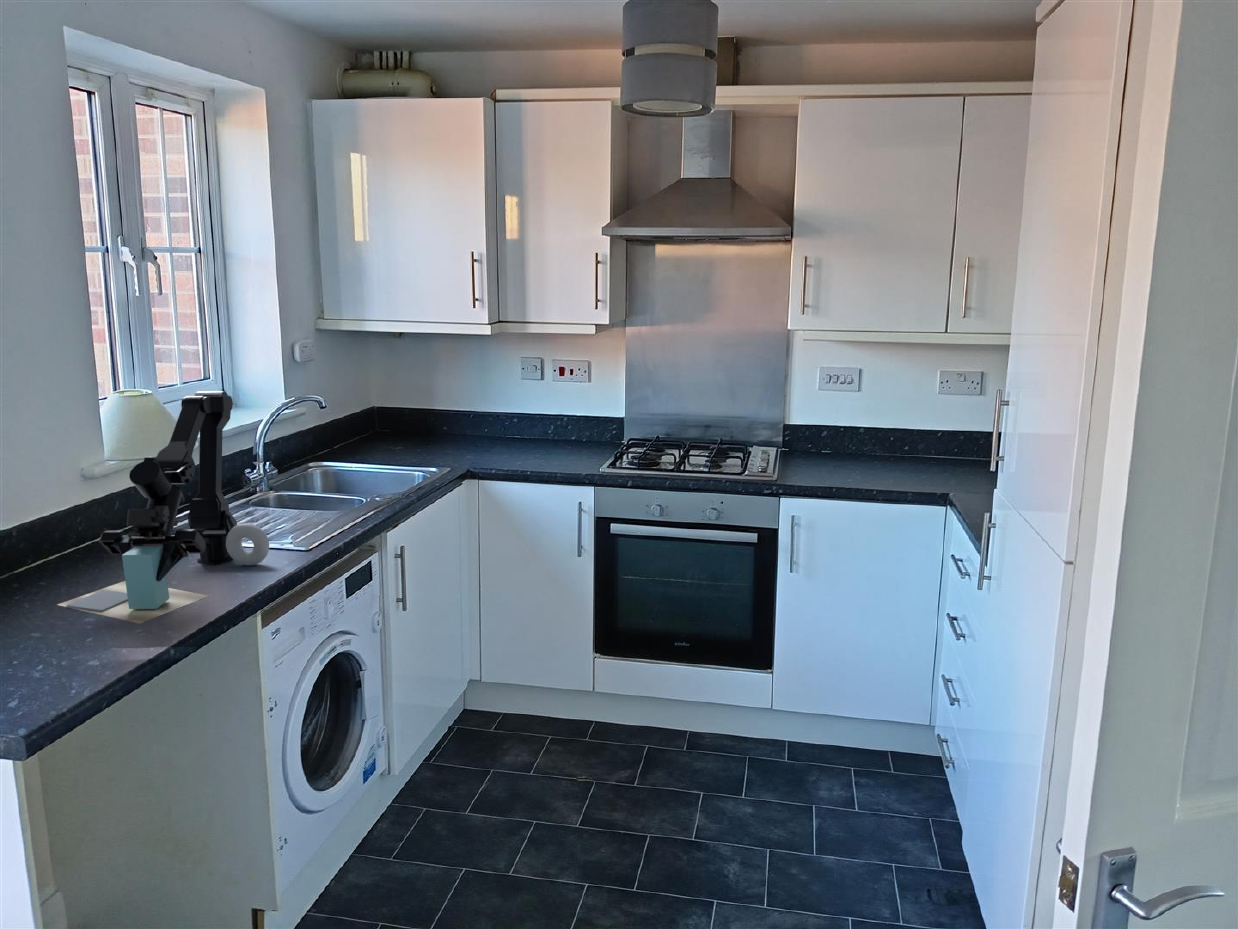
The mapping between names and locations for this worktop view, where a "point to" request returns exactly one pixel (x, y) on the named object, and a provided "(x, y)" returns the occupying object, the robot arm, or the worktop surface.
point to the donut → (255, 536)
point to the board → (141, 615)
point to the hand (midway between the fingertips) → (142, 580)
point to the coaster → (100, 601)
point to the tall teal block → (144, 577)
